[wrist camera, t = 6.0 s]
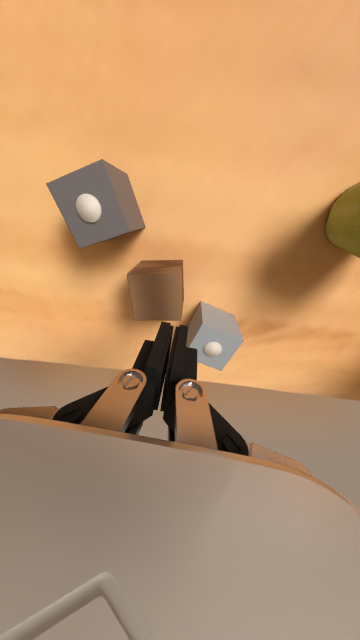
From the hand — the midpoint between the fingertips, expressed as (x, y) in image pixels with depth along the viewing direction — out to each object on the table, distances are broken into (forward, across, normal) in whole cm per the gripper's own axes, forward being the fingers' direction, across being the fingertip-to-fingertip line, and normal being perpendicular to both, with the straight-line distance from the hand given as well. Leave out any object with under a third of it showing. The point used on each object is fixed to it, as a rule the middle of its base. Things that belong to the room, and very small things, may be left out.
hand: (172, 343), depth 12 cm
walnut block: (+14, +3, +1) cm, 14 cm away
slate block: (+14, -4, +6) cm, 16 cm away
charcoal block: (+13, +9, -6) cm, 17 cm away
